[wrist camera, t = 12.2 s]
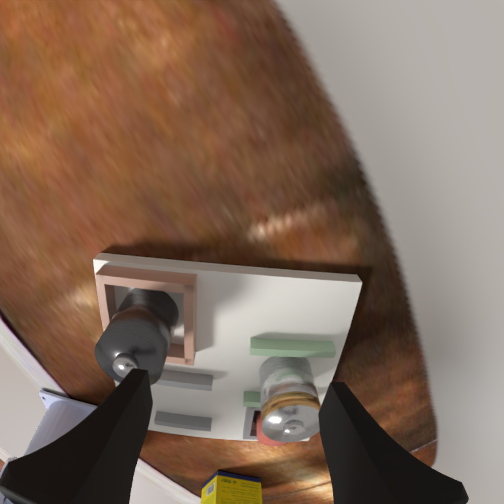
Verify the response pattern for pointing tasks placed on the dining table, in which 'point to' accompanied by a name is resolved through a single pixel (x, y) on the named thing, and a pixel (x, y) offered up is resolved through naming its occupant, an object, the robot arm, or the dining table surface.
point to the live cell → (288, 399)
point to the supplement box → (231, 489)
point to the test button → (260, 434)
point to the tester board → (231, 334)
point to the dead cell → (138, 335)
